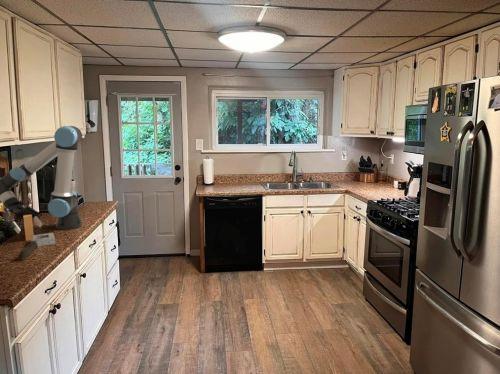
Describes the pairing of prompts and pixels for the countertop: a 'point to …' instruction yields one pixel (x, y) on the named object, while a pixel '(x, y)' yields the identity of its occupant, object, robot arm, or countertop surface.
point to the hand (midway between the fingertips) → (30, 228)
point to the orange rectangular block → (28, 226)
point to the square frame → (43, 239)
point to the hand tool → (28, 250)
